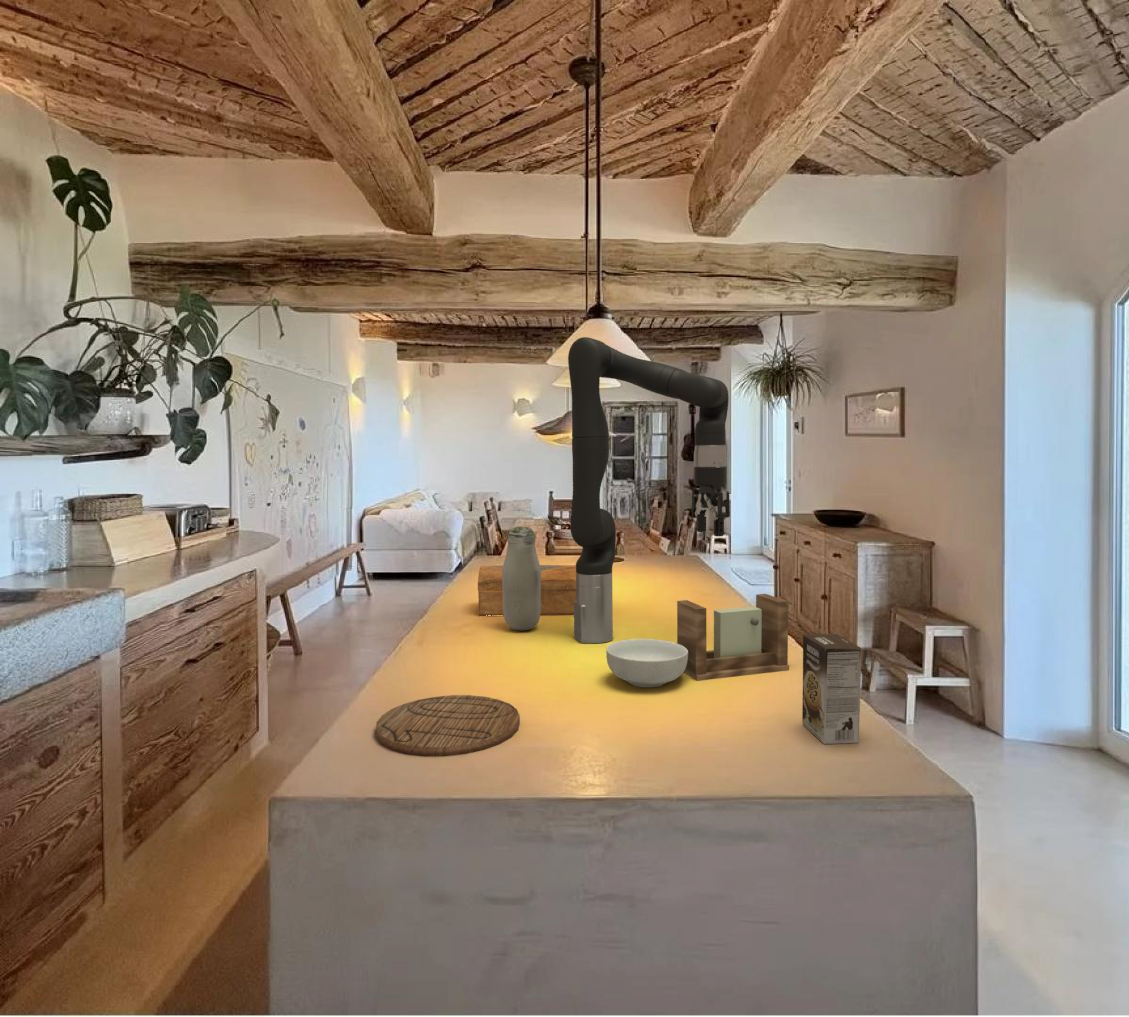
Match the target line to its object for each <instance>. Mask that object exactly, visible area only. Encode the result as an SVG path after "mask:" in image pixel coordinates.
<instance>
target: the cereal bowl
mask: <svg viewBox="0 0 1129 1017" xmlns="http://www.w3.org/2000/svg"><path fill="white" fill-rule="evenodd" d="M605 653H606V657H605V658H606V661H607V662H606V663H607V666H608V668H609V670H610V671H611V672H612V674H614V675H615V676H616V677H618V679H619V678H620V679H621V680H623V681H626V682H627V683H628V684H630V685H631V686H633V687H640V688H656V687H657V688H658V687H661V686H664V685H665V684H666V683H670V682H672V681H674V680H676V679H678V678H679V677H681V675H683V673H684V670H685V668H686V665H687V660H688V650H687V649H686V648H685V647H684V646H682V645H679V644H677V642H673V641H669V640H664V639H655V638H631V639H623V640H618V641H615V642H612V643H610V644H609V645H607V647H606V652H605ZM663 684H664V685H663Z"/></svg>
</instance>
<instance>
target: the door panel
mask: <svg viewBox="0 0 1129 1017" xmlns="http://www.w3.org/2000/svg"><path fill="white" fill-rule="evenodd" d="M761 623H762V609H759V608H757V607H756V606H747V607H734V608H724V609H714V610H713V650H714V658H720V657H730V656H739V655H749V654H758V653H761Z"/></svg>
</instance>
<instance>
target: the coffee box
mask: <svg viewBox="0 0 1129 1017" xmlns="http://www.w3.org/2000/svg"><path fill="white" fill-rule="evenodd" d="M861 672H862V647H860V646H859V645H857V644H855V643H853V642H851V641H850V640H848V639H847V638H844V637H843V636H841V635H839V634H838V633H832V634H826V633H811V634H803V635H802V705H801V706H802V715H801V716H802V718H801V719H802V725H803V727H805V728H806V729H807V730H808V731H809V732H810V733H811V734H812V735H813V736H815V738H817V739H818V740H819V741H820V742H821V743H822V744H824V745H837V744H838V745H839V744H856V743H857V744H858V743H859V742H860V711H861V709H860V708H861V707H860V706H861V704H860V703H861V678H862V677H861V676H862V674H861Z"/></svg>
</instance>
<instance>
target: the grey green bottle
mask: <svg viewBox="0 0 1129 1017" xmlns="http://www.w3.org/2000/svg"><path fill="white" fill-rule="evenodd" d="M505 554H506V555H505V558H504V562H503V564H502V565H503V570H502V590H503V614H504V616H503V617H504V618H503V619H504V621H505V623H506V625H507V626H508V627H509V628H511V629H512V630H515V631H519V632H520V631H524V632H525V631H528V630H529V631H530V630H532V629H534V628H535V627H536V626H537V625H538V623H539V621H540V617H541V616H540V613H541V569H540V565H541V564H540V560H539V557H538V554H537V548H536V534H535V531H534V530H533V529H532V528H531V527H528V526H515V527H511V528H510V530H509V531H508V533H507V548H506V553H505Z"/></svg>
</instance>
